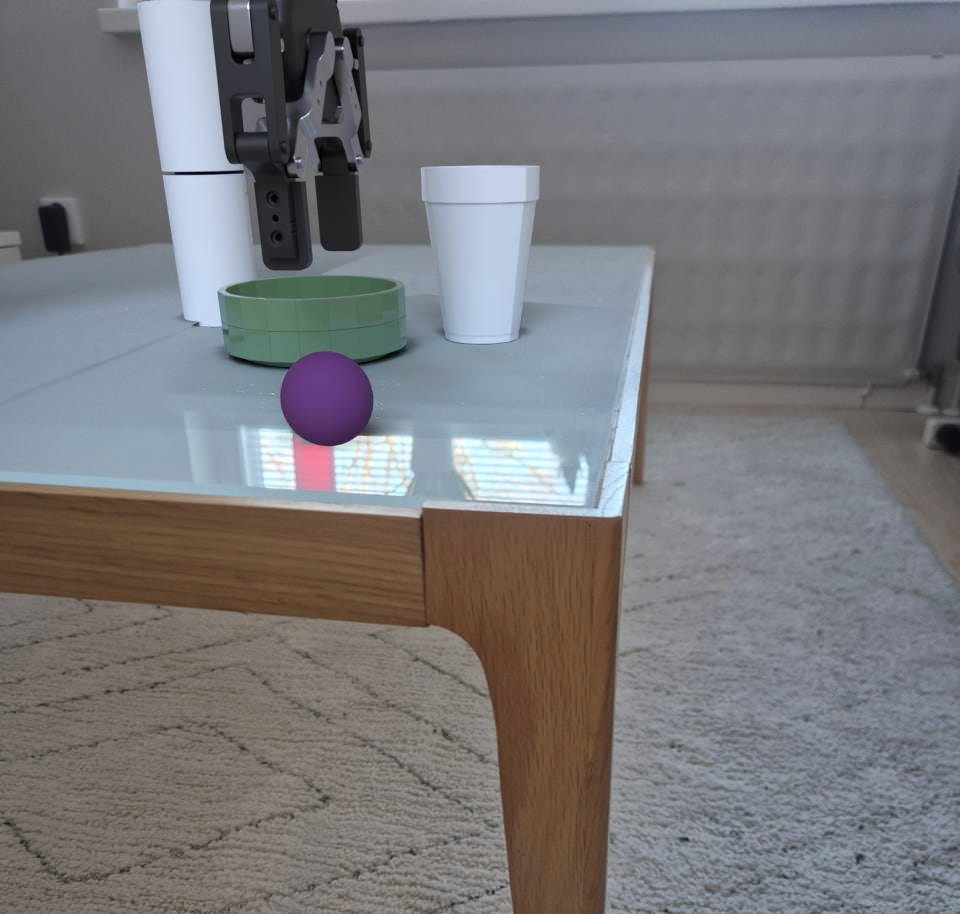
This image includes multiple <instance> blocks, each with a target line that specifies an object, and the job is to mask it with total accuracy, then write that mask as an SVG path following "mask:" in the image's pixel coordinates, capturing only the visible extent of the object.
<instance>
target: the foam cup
mask: <svg viewBox="0 0 960 914" xmlns="http://www.w3.org/2000/svg"><path fill="white" fill-rule="evenodd" d="M540 169H541V167H540V165H515V164H513V165H510V164H509V165H506V164H505V165H503V164H502V165H501V164H500V165H494V164H493V165H492V164H491V165H490V164H489V165H486V164H485V165H443V166H441V165H440V166H439V165H438V166H437V165H436V166H422V167H420V179H421V180H420V181H421V183H420V185H421V186H420V187H421V201H422V202H424V206H425V215H426V220H427V227H428V233H429V240H430V241H429V242H430V247H431V253H432V260H433V267H434V273H435V274H434V275H435V281H436V288H437V294H438V300H439V306H440V311H441V312H440V314H441V320H442V327H443V331H444V338H445V339H446V340H448V341H450V342H453V343H459V344H470V345H471V344H473V345H489V344H492V345H493V344H502V343H508V342H513V341H515V340H518V339H519V336H520V329H521V324H522V316H523V307H524V300H525V293H526V286H527V285H526V283H527V276H528V269H529V261H530V255H531V254H530V253H531V245H532V240H533V239H532V238H533V231H534V222H535V215H536V208H537V201H539V200H540V183H541V181H540V179H541V178H540V174H541V172H540V171H541V170H540Z"/></svg>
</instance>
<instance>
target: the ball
mask: <svg viewBox="0 0 960 914" xmlns="http://www.w3.org/2000/svg"><path fill="white" fill-rule="evenodd" d="M279 399H280V408H281V412H282V415H283V416H284V419H285V421H286V423H287V424H288V426H289V427H290V429H292V431H293V432H294V433H295V434H297V436H298V437H300V438H301V439H303V440H304V441H306V442H308V443H310V444H313V445H316V446H320V447H337V446H342V445H344V444H347V443H349V442H351V441H352V440H354V439H355V438H357V437H358V436H359V435H361V433H362V432H364V430H365V428H366V427H367V426H368V424H369V422H370V420H371V417H372V414H373V410H374V401H375V400H374V392H373V387H372V384H371V381H370V378H369V377H368V375H367V373H366V372H365V370H364V369H363V368H362V367H361V365H359V363H356V362H354V361H353V360H352V359H350V358H348V357H347V356H345V355H342V354H340V353H336V352H331V351H320V352H314V353H311V354H308V355H306V356H304V357H302V358H300V359H299V360H298V361H296V362H295V363H294V364H293V365H292V366H291V367H289V369H288V370H287V371H286V373H285V375H284V377H283V380H282V382H281V386H280V395H279Z"/></svg>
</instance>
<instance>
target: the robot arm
mask: <svg viewBox="0 0 960 914" xmlns="http://www.w3.org/2000/svg"><path fill="white" fill-rule="evenodd" d="M209 2H210V17H211V26H212V36H213V45H214V55H215V64H216V74H217V83H218V93H219V102H220V112H221V121H222V131H223V140H224V149H225V154H226V157H227V160H228V162H229V163H230V164H243V168H244V172H245V177H246V179H249V180H254V181H253V189H254V197H255V207H256V214H257V221H258V222H257V224H258V230H259V232H258V233H259V239H260V249H261V258H262V262H263V265H264V266H265V267H266V268H267V269H268V270H269V271H273V272H274V271H276V272H277V271H280V272H281V271H282V272H283V271H285V272H288V271H289V272H292V271H293V272H294V271H296V272H297V271H299V272H300V271H303V270H306V269H308V268H310V267H311V266H312V264H313V262H314V261H313V260H314V255H313V247H312V246H313V245H312V234H311V223H310V213H309V212H310V211H309V203H308V202H309V201H308V192H307V181H306V180H297V179H303V178H304V175H305V171H306V163H307V155H308V154H309V158H310V160H311V164H312V167H313V170H314V172H315V173H316V174H317V175H316V174H315V175H314V186H315V198H316V209H317V220H318V231H319V243H320V245H321V247H322V249H324V250H325V251H326V252H354V251H357V250H359V249H360V248H362V246H363V243H364V237H363V221H362V219H363V218H362V207H361V206H362V205H361V194H360V193H361V192H360V177H359V176H360V175H359V174H356V173H362V172H363V168H364V163H365V159H370V158H371V155H372V150H373V143H372V140H371V139H372V138H371V129H370V115H369V103H368V102H369V101H368V88H367V77H366V76H367V74H366V61H365V51H364V47H365V38H364V35H363V32H362V29H361V27H343V26H342V22H341V15H340V9H339V7H338V3H339V2H338V0H210V1H209ZM244 125H245V127H246V128H245V127H244ZM245 129H246V130H245Z"/></svg>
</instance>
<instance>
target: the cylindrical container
mask: <svg viewBox="0 0 960 914" xmlns="http://www.w3.org/2000/svg"><path fill="white" fill-rule="evenodd" d="M136 11H137V19H138V24H139V30H140V37H141V44H142V50H143V57H144V63H145V70H146V77H147V84H148V89H149V96H150V102H151V109H152V116H153V122H154V128H155V135H156V142H157V149H158V156H159V161H160V162H159V163H160V169H161V172H170V173H166V174H162V181H163V187H164V188H163V189H164V194H165V201H166V208H167V214H168V220H169V221H168V222H169V227H170V233H171V234H170V235H171V240H172V247H173V253H174V260H175V267H176V273H177V280H178V287H179V293H180V294H179V295H180V298H181V300H180V301H181V307H182V313H183V318H184V320H186V321H190V322H196V323H193V324H191V326H192V327H202V328H203V327H205V328H219V327H221V328H222V323H221V322H222V321H221V316H220V308H219V301H218V293H217V291H218V290H219V288H220V287H223V286H226V285H229V284H232V283H237V282H243V281H248V280H255V279H258V273H257V265H256V255H255V249H254V237H253V232H252V222H251V213H250V204H249V195H248V194H246V193H247V192H248V187H247V176H246V174H245V172H244V168H243V164H230V163H229V162H228V160H227V157H226V154H225V149H224V140H223V131H222V121H221V112H220V102H219V93H218V83H217V74H216V64H215V55H214V45H213V36H212V26H211V17H210V1H207V0H206V1H205V0H145V1H140V2H137V3H136ZM172 172H173V173H172Z"/></svg>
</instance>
